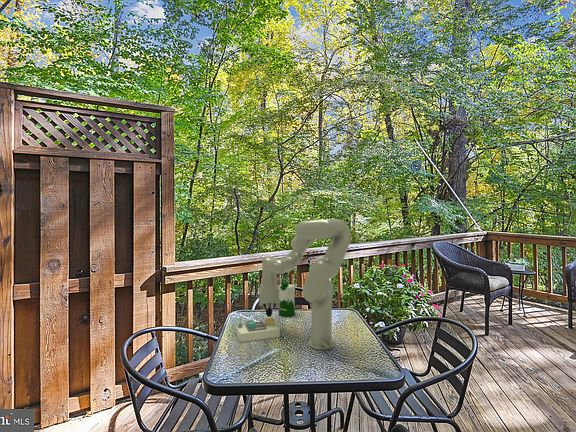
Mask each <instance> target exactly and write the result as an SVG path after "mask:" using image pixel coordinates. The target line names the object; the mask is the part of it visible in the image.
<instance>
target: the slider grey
mask: <svg viewBox="0 0 576 432" xmlns="http://www.w3.org/2000/svg"><path fill="white" fill-rule="evenodd" d="M248 322H254V319H253V318H246V319H245V323H246V325H247V326H248Z"/></svg>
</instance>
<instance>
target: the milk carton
mask: <svg viewBox="0 0 576 432" xmlns="http://www.w3.org/2000/svg"><path fill="white" fill-rule="evenodd" d="M278 289H279V304H278V307H279V309H278V314H279V315H278V316H279V317H280V316H281V317H283V316H284V318H288V317H289V318H291V317H292V316H294V315H296V312H295V311H296V310H295V291H296V285H295V284H289V282H288V281H284V282H281V284H280V285H278Z"/></svg>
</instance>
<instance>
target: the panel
mask: <svg viewBox="0 0 576 432" xmlns="http://www.w3.org/2000/svg"><path fill="white" fill-rule="evenodd" d="M242 319H243V317H242V316H239V320H238V321H239V322H238V324H235V334H236V336H237V339H238V340H239V343H244V342H251V341H258V340H266V339H274V338H280V337H281V336H280V335H281V328H280V327H278V325H277V323H275V325H272V326H266V325H265V324H264V322H263V321H256V322H255V321H254V322H255V329H249V328H248V326H247V325H246V322H245V324H243V323H242V321H243V320H242Z"/></svg>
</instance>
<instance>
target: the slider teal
mask: <svg viewBox="0 0 576 432" xmlns="http://www.w3.org/2000/svg"><path fill="white" fill-rule="evenodd" d="M248 328H249V329H255V321H253V322H248Z"/></svg>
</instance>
